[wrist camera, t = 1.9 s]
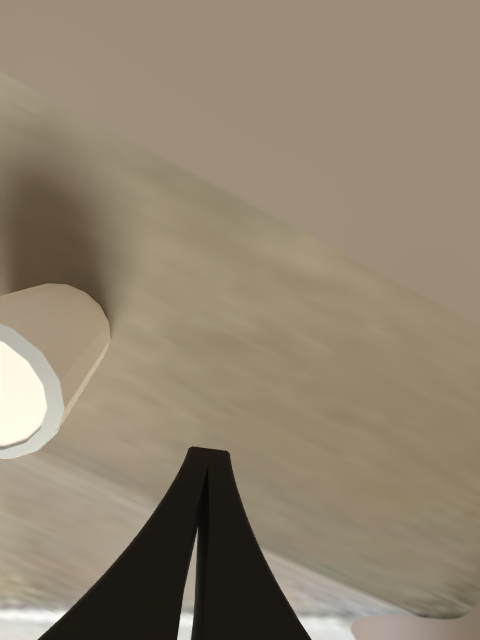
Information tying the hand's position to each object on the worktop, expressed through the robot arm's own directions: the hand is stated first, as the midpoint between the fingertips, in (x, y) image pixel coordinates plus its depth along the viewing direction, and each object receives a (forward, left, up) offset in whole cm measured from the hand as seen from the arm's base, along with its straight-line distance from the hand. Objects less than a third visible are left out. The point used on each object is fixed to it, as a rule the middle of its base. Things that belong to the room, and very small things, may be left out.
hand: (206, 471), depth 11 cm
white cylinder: (0, +10, -10) cm, 14 cm away
